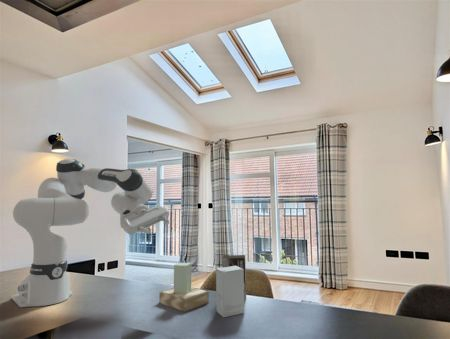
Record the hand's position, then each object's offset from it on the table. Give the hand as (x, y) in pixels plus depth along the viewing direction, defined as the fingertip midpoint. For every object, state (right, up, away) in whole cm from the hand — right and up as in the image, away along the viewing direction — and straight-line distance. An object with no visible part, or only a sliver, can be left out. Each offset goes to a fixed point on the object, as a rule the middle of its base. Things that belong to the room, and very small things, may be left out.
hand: (158, 227), depth 119 cm
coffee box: (+31, -27, -4) cm, 41 cm away
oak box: (+12, -27, -9) cm, 31 cm away
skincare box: (+29, -25, -20) cm, 43 cm away
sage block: (+11, -22, -9) cm, 26 cm away
